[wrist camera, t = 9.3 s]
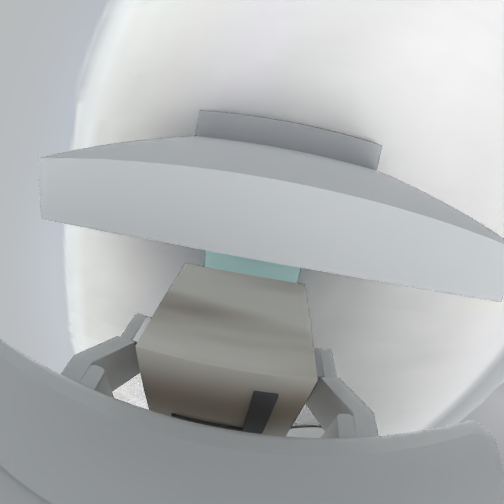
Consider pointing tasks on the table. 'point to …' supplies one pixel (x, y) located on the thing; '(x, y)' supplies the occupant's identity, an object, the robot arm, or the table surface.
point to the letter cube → (229, 351)
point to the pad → (251, 267)
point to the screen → (275, 204)
